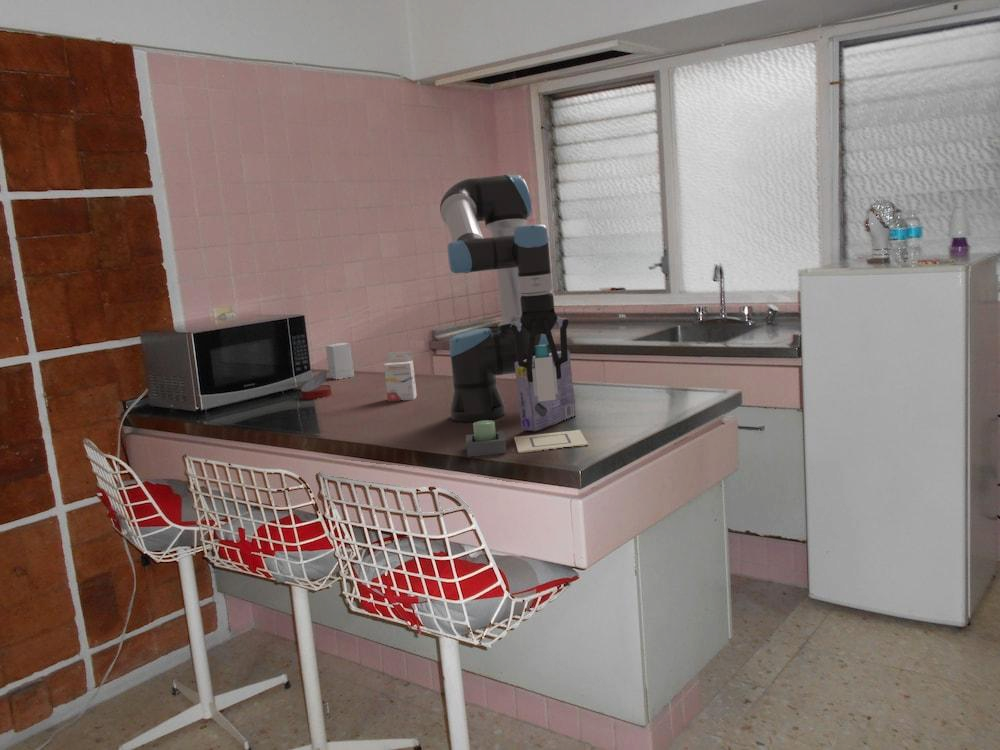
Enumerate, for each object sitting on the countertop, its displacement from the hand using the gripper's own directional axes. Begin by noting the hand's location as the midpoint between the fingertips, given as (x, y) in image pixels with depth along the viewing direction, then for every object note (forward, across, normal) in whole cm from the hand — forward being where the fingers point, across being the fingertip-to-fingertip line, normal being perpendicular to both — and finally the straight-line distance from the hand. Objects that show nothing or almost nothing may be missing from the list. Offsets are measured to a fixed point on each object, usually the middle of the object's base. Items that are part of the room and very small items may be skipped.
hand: (545, 394), depth 207 cm
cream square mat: (+12, 0, 0) cm, 12 cm away
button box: (+12, -15, -1) cm, 19 cm away
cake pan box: (+12, +2, +19) cm, 23 cm away
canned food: (+11, -69, +94) cm, 117 cm away
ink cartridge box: (+11, -39, +73) cm, 84 cm away
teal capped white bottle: (+1, 0, 0) cm, 1 cm away
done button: (+10, -15, -1) cm, 18 cm away
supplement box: (+11, -65, +129) cm, 145 cm away
